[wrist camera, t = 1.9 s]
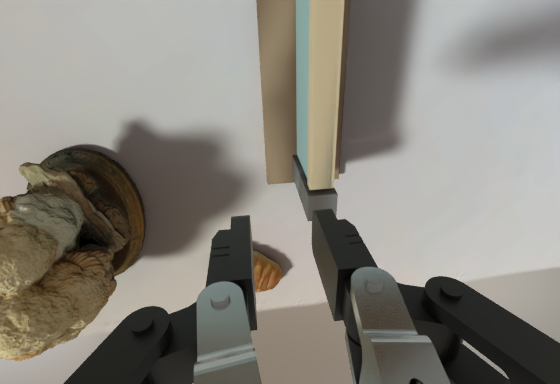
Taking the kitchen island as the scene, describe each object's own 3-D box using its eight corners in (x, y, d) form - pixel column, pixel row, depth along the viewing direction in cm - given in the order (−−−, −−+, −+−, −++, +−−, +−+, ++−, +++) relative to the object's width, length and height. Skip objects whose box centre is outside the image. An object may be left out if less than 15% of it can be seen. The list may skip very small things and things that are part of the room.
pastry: (287, 251, 40) (291, 272, 37) (272, 288, 43) (275, 310, 40) (216, 238, 38) (214, 259, 35) (205, 278, 41) (202, 300, 38)
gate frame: (349, -55, 25) (406, -97, 17) (336, 175, 35) (367, 223, 27) (253, -53, 25) (259, -96, 16) (267, 180, 35) (275, 231, 26)
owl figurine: (11, 130, 30) (-223, 234, 15) (141, 142, 32) (52, 244, 17) (48, 273, 38) (-77, 434, 23) (150, 275, 40) (96, 425, 25)
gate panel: (317, -5, 26) (345, -17, 19) (313, 153, 32) (333, 188, 25) (293, -5, 25) (312, -16, 18) (294, 154, 32) (309, 190, 25)
